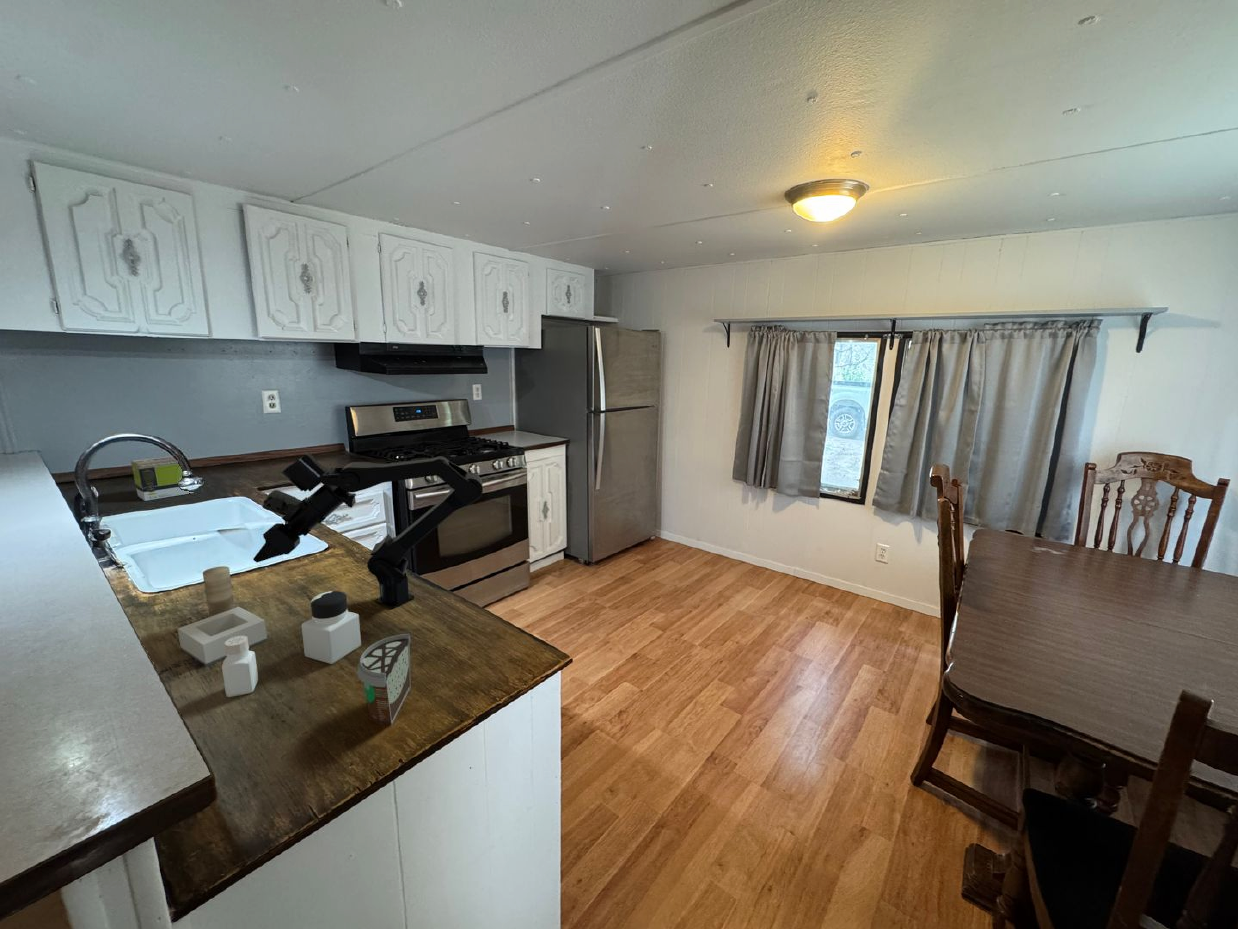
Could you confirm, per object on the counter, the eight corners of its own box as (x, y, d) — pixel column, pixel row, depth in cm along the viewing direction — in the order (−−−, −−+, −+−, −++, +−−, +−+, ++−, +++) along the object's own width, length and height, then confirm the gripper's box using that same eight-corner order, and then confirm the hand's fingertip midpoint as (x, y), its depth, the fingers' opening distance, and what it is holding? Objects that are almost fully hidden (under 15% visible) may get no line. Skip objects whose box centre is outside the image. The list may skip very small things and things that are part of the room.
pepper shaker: (225, 699, 84) (217, 649, 82) (232, 685, 88) (225, 636, 86) (253, 694, 86) (246, 644, 84) (259, 680, 90) (253, 632, 88)
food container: (378, 682, 90) (374, 632, 88) (413, 682, 90) (410, 632, 88) (347, 733, 78) (342, 676, 76) (388, 731, 78) (384, 675, 76)
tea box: (186, 489, 205) (180, 454, 202) (194, 493, 199) (188, 457, 196) (136, 496, 193) (130, 459, 190) (143, 501, 187) (137, 463, 184)
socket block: (267, 640, 102) (264, 620, 101) (206, 666, 93) (203, 644, 92) (241, 625, 107) (238, 606, 106) (181, 649, 98) (177, 628, 97)
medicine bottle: (362, 645, 101) (357, 591, 99) (331, 665, 94) (326, 607, 92) (335, 638, 103) (330, 584, 101) (304, 657, 97) (297, 600, 94)
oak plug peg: (240, 620, 109) (233, 569, 106) (216, 629, 105) (208, 576, 102) (230, 615, 111) (223, 564, 108) (206, 623, 107) (198, 571, 104)
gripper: (303, 470, 117) (250, 514, 116) (273, 491, 99) (210, 543, 98) (340, 503, 121) (289, 546, 119) (318, 528, 103) (258, 579, 102)
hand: (263, 552), depth 110 cm, fingers open, 9 cm apart
